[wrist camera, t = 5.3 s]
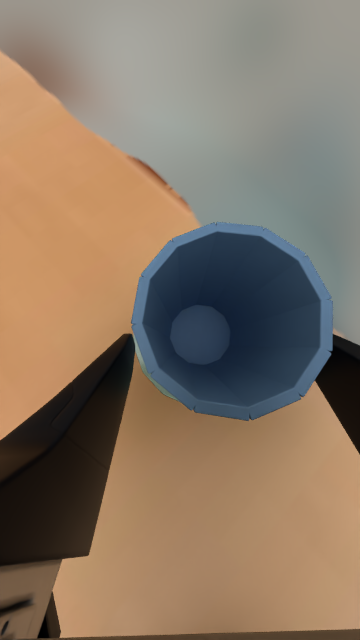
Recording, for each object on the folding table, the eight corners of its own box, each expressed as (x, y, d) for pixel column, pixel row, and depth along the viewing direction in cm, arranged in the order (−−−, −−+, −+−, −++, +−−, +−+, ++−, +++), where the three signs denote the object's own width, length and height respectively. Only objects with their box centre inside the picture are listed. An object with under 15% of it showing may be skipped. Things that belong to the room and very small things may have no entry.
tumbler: (181, 378, 16) (176, 454, 5) (158, 317, 17) (107, 262, 6) (243, 352, 17) (373, 368, 5) (216, 293, 18) (275, 198, 6)
